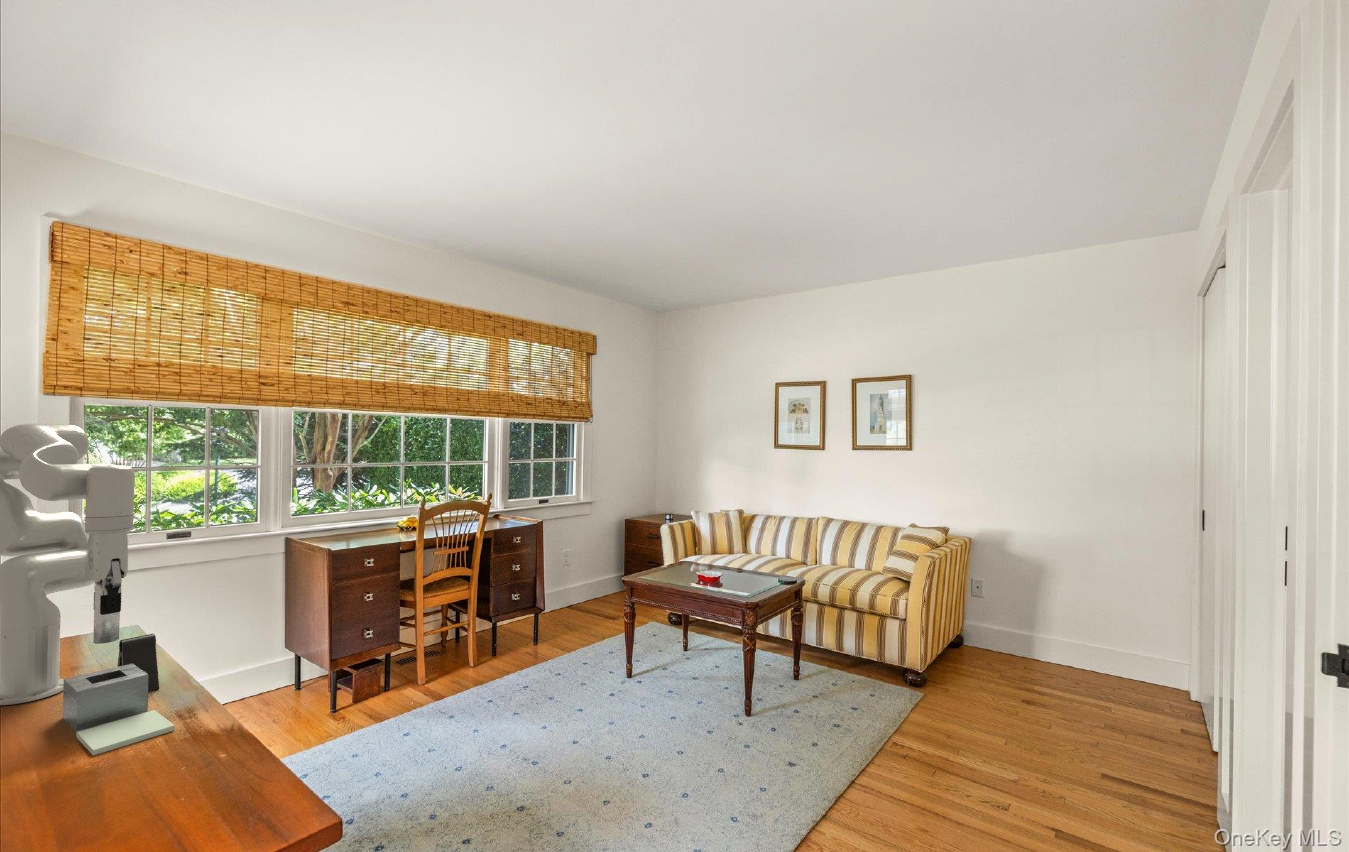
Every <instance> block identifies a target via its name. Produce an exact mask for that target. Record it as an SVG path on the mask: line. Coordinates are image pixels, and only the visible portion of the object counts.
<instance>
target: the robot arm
mask: <svg viewBox="0 0 1349 852" xmlns="http://www.w3.org/2000/svg"><path fill="white" fill-rule="evenodd" d="M88 437H89V436H88V435H87V433H86V432H85V431H84V429H82V428H81V427H79V426H76V425H73V424H60V423H59V424H57V423H55V424H53V423H51V424H50V423H49V424H48V423H47V424H46V423H24V424H18V425H17V424H16V425H13V426H10V427H9V428H7V429H6V430H4V431H3V432H2V433H1V434H0V556H2V557H8V559H6V560H4V561H3V562H2V563H0V706H8V705H9V706H10V705H17V704H24V703H29V702H32V701H38V700H40V699H44V698H47V697H51V696H53V695H56V694H59V693H61V692H63V688H64V679H65V678H61V677H60V659H61V658H60V655H61V654H60V653H61V652H60V651H61V611H60V609H59V607H58V606H57V605H56V604H55V603H54V601H51V600H50V599H49V598H48V597H47V596H48V595H50V594H54V593H58V592H64V591H70V590H75V589H80V588H84V587H89V586H91V585H93V584H94V585H95V584H98V583H102V593H103V595H100V614H101V615H105V614H111V613H117V612H120V613H121V611H122V581H123V580H122V579H124V578H125V577H127V575H128V570H129V569H128V568H129V565H128V564H129V540H128V532H131V531H133V530H134V511H135V510H134V509H135V507H134V506H135V505H134V504H135V479H136V478H135V474H136V473H135V470H134V468H132V467H131V466H128V465H116V464H113V463H78V461H80V460H81V459H82V458H83V457H84V456H85V455H86V454H87V451H88V450H89V446H90V445H89V438H88ZM5 480H19V481H20V485H21V487H23V489H24V490H25V491H26V492H28V493H29V494H31V495H32V496H34V497H35V498H37V499H40V500H43V501H48V502H59V501H73V500H83V499H85V515H84V516H85V519H83V518H82V517H81V516H79V515H78V514H76V513H74V512H71V511H52V512H39V511H36V510H35V508H34V506H33V503H32V501H31V499H30V497H29V496H28V495H27V494H26V493H24V491H22V490H20V489H19V488H18V487H16V486H13V485H12V484H10V483H8V482H6V481H5ZM84 520H85V521H84ZM9 557H11V558H9ZM108 582H111V583H109V584H108V585H107V583H108ZM94 590H95V586H94ZM94 602H95V591H94V592H93V603H94Z"/></svg>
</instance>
